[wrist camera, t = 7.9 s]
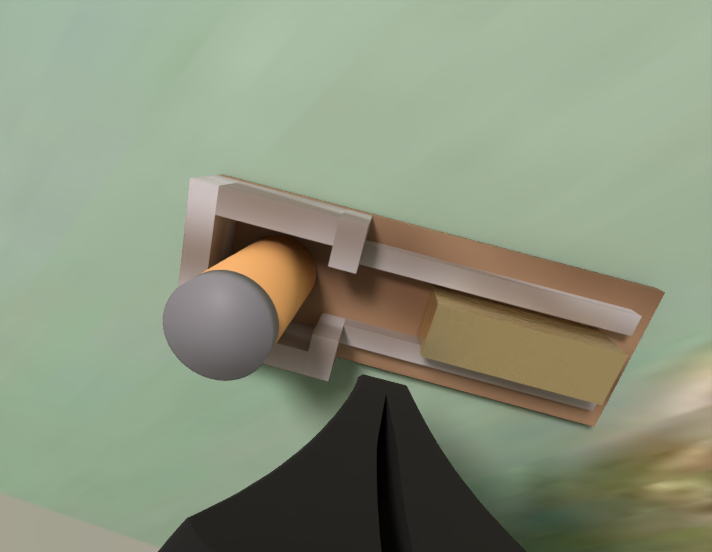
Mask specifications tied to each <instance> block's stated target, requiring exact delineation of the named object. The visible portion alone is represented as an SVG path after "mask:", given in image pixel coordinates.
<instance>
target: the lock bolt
mask: <svg viewBox="0 0 712 552" xmlns="http://www.w3.org/2000/svg"><path fill="white" fill-rule="evenodd" d="M418 338H419V346H420V355H421V357H425V358H428V359H432V360H436V361H439V362H443V363H447V364H451V365H454V366H458V367H462V368H465V369H469V370H473V371H477V372H480V373H484V374H488V375H491V376H495V377H499V378H503V379H506V380H510V381H514V382H517V383H521V384H525V385H529V386H532V387H536V388H540V389H543V390H547V391H551V392H554V393H558V394H562V395H566V396H569V397H573V398H577V399H580V400H584V401H588V402H592V403H595V404H599V405H603V403H604V401H605V399H606V397H607V395H608V393H609V391H610V389H611V387H612V386H613V384H614V382H615V380H616V378H617V376H618V374H619V372H620V370H621V368H622V366H623V365H624V363H625V361H626V359H627V357H628V354H627V353H625V352H624V351H623V350H622V349H621V348H620V347H619V346H617V345H616V344H615V343H614V342H613V341H612V340H610V339H609V338H608V337H607V336H606V335H605V334H603V333H602V332H601V331H600V330H599V329H595V328H592V327H588V326H584V325H580V324H577V323H573V322H569V321H565V320H561V319H558V318H554V317H550V316H546V315H543V314H539V313H535V312H531V311H528V310H524V309H520V308H516V307H512V306H509V305H505V304H501V303H497V302H494V301H490V300H486V299H482V298H479V297H475V296H471V295H467V294H463V293H460V292H456V291H452V290H448V289H445V288H441V287H437V286H433V287H432V290H431V293H430V296H429V299H428V302H427V305H426V308H425V311H424V314H423V317H422V320H421V324H420V327H419V330H418Z"/></svg>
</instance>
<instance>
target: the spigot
mask: <svg viewBox="0 0 712 552" xmlns="http://www.w3.org/2000/svg"><path fill="white" fill-rule="evenodd" d="M315 280H316V265H315V262H314V259H313V257H312V255H311V253H310V252H309V250H308V249H307V248H306V247H305V246H304V245H303V244H302V243H301V242H299V241H298V240H296V239H294V238H292V237H289V236H286V235H269V236H266V237H263V238H261V239H259V240H258V241H256V242H254V243H253V244H251V245H249V246H247V247H246V248H244V249H242V250H240V251H239V252H237V253H235V254H234V255H232V256H230V257H228V258H227V259H225V260H223V261H221V262H220V263H218V264H216V265H215V266H213V267H211V268H209V269H208V270H206V271H204V272H203V273H201V274H199V275H197V276H196V277H194V278H192V279H190V280H189V281H187V282H185V283H184V284H182V285H181V286H179V287H178V288H177V289H176V290H175V291H174V292H173V293H172V294H171V296H170V297H169V299H168V301H167V303H166V305H165V309H164V313H163V329H164V334H165V337H166V340H167V342H168V344H169V346H170V348H171V350H172V351H173V353H174V354H175V356H176V357H177V358H178V359H179V360H180V361H181V362H182V363H183V364H184V365H185V366H186V367H188V368H189V369H191V370H192V371H194V372H195V373H197V374H199V375H202V376H204V377H207V378H210V379H215V380H223V381H228V380H236V379H240V378H243V377H246V376H248V375H250V374H251V373H253V372H255V371H256V370H257V369H258V368H259V367H260V366H261V365H262V364H263V362H264V361H265V360H266V358H267V357H268V355H269V354H270V352H271V351H272V349H273V348H274V346H275V345H276V343H277V342H278V340H279V339H280V337H281V336H282V334H283V333H284V331H285V329H286V328H287V326H288V325H289V323H290V322H291V320H292V319H293V317H294V316H295V314H296V313H297V311H298V310H299V308H300V307H301V305H302V304H303V302H304V301H305V299H306V298H307V296H308V295H309V293H310V292H311V290H312V289H313V286H314V284H315Z"/></svg>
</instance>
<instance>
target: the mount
mask: <svg viewBox="0 0 712 552" xmlns="http://www.w3.org/2000/svg"><path fill="white" fill-rule="evenodd" d="M269 235H286V236H289V237H292V238H294V239H296V240H298V241H299V242H301V243H302V244H303V245H304V246H305V247H306V248H307V249H308V250H309V252H310V253H311V255H312V257H313V259H314V262H315V265H316V280H315V284H314V286H313V289H312V290H311V292H310V293H309V295H308V296H307V298H306V299H305V301H304V302H303V304H302V305H301V307H300V308H299V310H298V311H297V313H296V314H295V316H294V317H293V319H292V320H291V322H290V323H289V325H288V326H287V328H286V329H285V331H284V333H283V334H282V336H281V337H280V339H279V340H278V342H277V343H276V345H275V346H274V348H273V349H272V351H271V352H270V354H269V355H268V357H267V358H266V360H265V361H264V362H263V364H266V365H269V366H273V367H277V368H281V369H284V370H288V371H292V372H295V373H299V374H303V375H306V376H310V377H314V378H317V379H321V380H325V381H329V377H330V374H331V371H332V368H333V364H334V361H335V358H336V357H339V358H343V359H346V360H350V361H354V362H357V363H361V364H365V365H368V366H372V367H376V368H380V369H383V370H387V371H391V372H394V373H398V374H402V375H405V376H409V377H413V378H416V379H420V380H424V381H428V382H431V383H435V384H439V385H442V386H446V387H450V388H453V389H457V390H461V391H464V392H468V393H472V394H476V395H479V396H483V397H487V398H490V399H494V400H498V401H501V402H505V403H509V404H512V405H516V406H520V407H523V408H527V409H531V410H535V411H538V412H542V413H546V414H549V415H553V416H557V417H560V418H564V419H568V420H571V421H575V422H579V423H583V424H586V425H590V426H595V424H596V423H597V421H598V419H599V417H600V415H601V413H602V411H603V409H604V407H605V405H606V404H607V402H608V400H609V398H610V396H611V394H612V392H613V390H614V388H615V386H616V385H617V383H618V381H619V379H620V377H621V375H622V373H623V371H624V369H625V367H626V366H627V364H628V362H629V360H630V358H631V356H632V354H633V352H634V350H635V348H636V347H637V345H638V343H639V341H640V339H641V337H642V335H643V333H644V331H645V329H646V328H647V326H648V324H649V322H650V320H651V318H652V316H653V314H654V312H655V310H656V309H657V307H658V305H659V303H660V301H661V299H662V297H663V295H664V293H665V292H663V291H661V290H659V289H657V288H654V287H650V286H646V285H642V284H639V283H635V282H631V281H627V280H623V279H620V278H616V277H612V276H608V275H604V274H600V273H597V272H593V271H589V270H585V269H581V268H578V267H574V266H570V265H566V264H562V263H558V262H555V261H551V260H547V259H543V258H539V257H536V256H532V255H528V254H524V253H520V252H516V251H513V250H509V249H505V248H501V247H497V246H494V245H490V244H486V243H482V242H478V241H474V240H471V239H467V238H463V237H459V236H455V235H452V234H448V233H444V232H440V231H436V230H432V229H429V228H425V227H421V226H417V225H413V224H410V223H406V222H402V221H398V220H394V219H390V218H387V217H383V216H379V215H375V214H371V213H367V212H364V211H360V210H356V209H352V208H348V207H345V206H341V205H337V204H333V203H329V202H325V201H322V200H318V199H314V198H310V197H306V196H303V195H299V194H295V193H291V192H287V191H283V190H280V189H276V188H272V187H268V186H264V185H261V184H257V183H253V182H249V181H245V180H241V179H238V178H234V177H230V176H226V175H215V176H205V177H196V178H190V185H189V194H188V203H187V212H186V221H185V230H184V240H183V249H182V258H181V267H180V276H179V285H178V287H179V286H181V285H182V284H184V283H185V282H187V281H189V280H190V279H192V278H194V277H196V276H197V275H199V274H201V273H203V272H204V271H206V270H208V269H209V268H211V267H213V266H215V265H216V264H218V263H220V262H221V261H223V260H225V259H227V258H228V257H230V256H232V255H234V254H235V253H237V252H239V251H240V250H242V249H244V248H246V247H247V246H249V245H251V244H253V243H254V242H256V241H258V240H259V239H261V238H263V237H266V236H269ZM433 286H437V287H441V288H445V289H448V290H452V291H456V292H460V293H463V294H467V295H471V296H475V297H479V298H482V299H486V300H490V301H494V302H497V303H501V304H505V305H509V306H512V307H516V308H520V309H524V310H528V311H531V312H535V313H539V314H543V315H546V316H550V317H554V318H558V319H561V320H565V321H569V322H573V323H577V324H580V325H584V326H588V327H592V328H595V329H599V330H600V331H601V332H602V333H603V334H605V335H606V336H607V337H608V338H609V339H610V340H612V341H613V342H614V343H615V344H616V345H617V346H619V347H620V348H621V349H622V350H623V351H624V352H625V353H627V354H628V357H627V359H626V361H625V363H624V365H623V366H622V368H621V370H620V372H619V374H618V376H617V378H616V380H615V382H614V384H613V386H612V387H611V389H610V391H609V393H608V395H607V397H606V399H605V401H604V403H603V405H599V404H595V403H592V402H588V401H584V400H580V399H577V398H573V397H569V396H566V395H562V394H558V393H554V392H551V391H547V390H543V389H540V388H536V387H532V386H529V385H525V384H521V383H517V382H514V381H510V380H506V379H503V378H499V377H495V376H491V375H488V374H484V373H480V372H477V371H473V370H469V369H465V368H462V367H458V366H454V365H451V364H447V363H443V362H439V361H436V360H432V359H428V358H425V357H421V355H420V346H419V338H418V330H419V327H420V324H421V320H422V317H423V314H424V311H425V308H426V305H427V302H428V299H429V296H430V293H431V290H432V287H433Z"/></svg>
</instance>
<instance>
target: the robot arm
mask: <svg viewBox="0 0 712 552" xmlns="http://www.w3.org/2000/svg"><path fill="white" fill-rule="evenodd" d="M158 552H526V551H525V550H524V549H523V548H522V547H521V546H520V545H519V544H518V543H517V542H516V541H515V540H514V539H513V538H512V537H511V536H510V535H509V533H508V532H507V531H506V530H505V529H504V528H503V527H502V526H501V525H500V524H499V523H498V522H497V521H496V519H495V518H494V517H493V516H492V515H491V514H490V513H489V512H488V511H487V509H486V508H485V507H484V506H483V505H482V504H481V503H480V501H479V500H478V499H477V498H476V496H475V495H474V494H473V493H472V491H471V490H470V489H469V488H468V486H467V485H466V484H465V483H464V481H463V480H462V479H461V477H460V476H459V475H458V473H457V472H456V471H455V469H454V468H453V466H452V465H451V463H450V462H449V460H448V459H447V457H446V456H445V455H444V453H443V452H442V450H441V448H440V447H439V445H438V444H437V442H436V440H435V438H434V437H433V435H432V433H431V432H430V430H429V428H428V426H427V425H426V423H425V421H424V419H423V417H422V415H421V413H420V411H419V409H418V408H417V406H416V404H415V402H414V400H413V397H412V395H411V393H410V391H409V390H408V388H407V386H406V385H402V384H398V383H394V382H391V381H387V380H383V379H379V378H375V377H371V376H367V375H361V376H359V377H358V380H357V383H356V385H355V387H354V389H353V391H352V393H351V394H350V396H349V397H348V399H347V400H346V401H345V403H344V404H343V405H342V407H341V408H340V409H339V411H338V412H337V413H336V415H335V416H334V417H333V418H332V419H331V420H330V421H329V422H328V423H327V425H326V426H325V427H324V428H323V429H322V430H321V431H320V432H319V433H318V434H317V435H316V436H315V437H314V438H313V439H312V440H311V441H310V442H309V443H308V444H306V445H305V446H304V447H303V448H302V449H301V450H300V451H298V452H297V453H296V454H295V455H293V456H292V457H291V458H290V459H288V460H287V461H286V462H284V463H283V464H282V465H281V466H279V467H278V468H276V469H275V470H274V471H272V472H271V473H269V474H268V475H266V476H264V477H263V478H261V479H260V480H258V481H256V482H255V483H253V484H251V485H250V486H248V487H247V488H245V489H243V490H242V491H240V492H238V493H237V494H235V495H233V496H231V497H229V498H227V499H225V500H223V501H221V502H219V503H217V504H215V505H213V506H211V507H209V508H207V509H205V510H203V511H201V512H199V513H197V514H195V515H193V516H191V517H188V518H187V519H186V520H185V521H184V522H183V523H182V524H181V525H180V526H179V528H178V529H177V530H176V531H175V532H174V533H173V534H172V535H171V537H170V538H169V539H168V540H167V541H166V543H165V544H164V545H163V546H162V547H161V549H160V550H159V551H158Z"/></svg>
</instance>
